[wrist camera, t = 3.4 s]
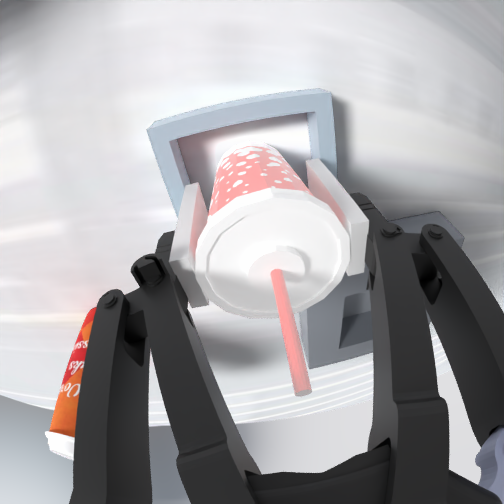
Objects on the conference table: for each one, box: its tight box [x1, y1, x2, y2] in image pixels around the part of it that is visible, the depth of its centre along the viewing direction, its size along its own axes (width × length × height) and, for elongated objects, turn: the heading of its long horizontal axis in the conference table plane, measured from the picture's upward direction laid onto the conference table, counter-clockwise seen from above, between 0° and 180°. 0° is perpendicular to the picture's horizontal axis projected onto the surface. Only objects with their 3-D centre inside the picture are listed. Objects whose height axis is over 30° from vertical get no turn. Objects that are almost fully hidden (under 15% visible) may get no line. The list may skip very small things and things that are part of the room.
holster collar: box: [147, 88, 337, 217], centre depth 17 cm, size 10×10×2 cm
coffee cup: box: [45, 307, 96, 461], centre depth 20 cm, size 8×8×15 cm
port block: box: [299, 211, 464, 369], centre depth 24 cm, size 14×14×5 cm
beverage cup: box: [196, 141, 350, 396], centre depth 12 cm, size 6×6×14 cm
